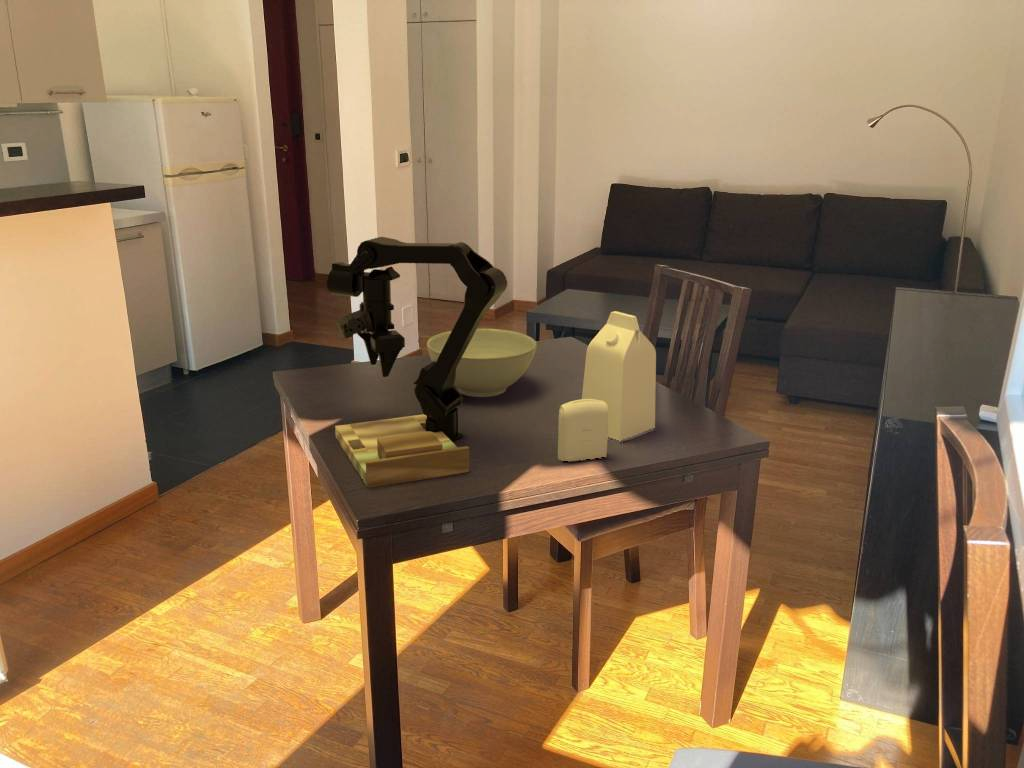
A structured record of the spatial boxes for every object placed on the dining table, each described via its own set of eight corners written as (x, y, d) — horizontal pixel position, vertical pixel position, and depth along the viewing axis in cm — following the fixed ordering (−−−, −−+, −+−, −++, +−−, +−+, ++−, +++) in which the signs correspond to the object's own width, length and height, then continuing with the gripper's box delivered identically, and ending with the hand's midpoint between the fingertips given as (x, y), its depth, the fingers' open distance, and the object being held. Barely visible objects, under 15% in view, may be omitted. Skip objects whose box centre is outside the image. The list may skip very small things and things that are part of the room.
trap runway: (335, 436, 182) (334, 414, 181) (425, 424, 190) (425, 403, 188) (367, 488, 159) (367, 463, 157) (469, 471, 167) (469, 447, 165)
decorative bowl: (535, 373, 226) (536, 329, 222) (535, 408, 201) (537, 359, 197) (433, 371, 227) (432, 327, 223) (421, 406, 201) (420, 356, 197)
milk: (654, 430, 189) (663, 315, 181) (619, 443, 182) (626, 324, 173) (614, 415, 197) (620, 305, 189) (578, 427, 190) (583, 312, 182)
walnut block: (377, 455, 167) (377, 438, 166) (432, 447, 171) (431, 431, 170) (386, 469, 161) (385, 451, 160) (442, 461, 165) (442, 444, 164)
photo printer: (560, 464, 171) (563, 405, 167) (554, 455, 175) (556, 398, 171) (609, 459, 173) (612, 401, 169) (602, 451, 177) (605, 394, 173)
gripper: (328, 292, 184) (331, 362, 189) (350, 312, 168) (353, 388, 173) (379, 288, 188) (380, 357, 193) (404, 307, 172) (406, 381, 177)
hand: (379, 370), depth 184 cm, fingers open, 9 cm apart
